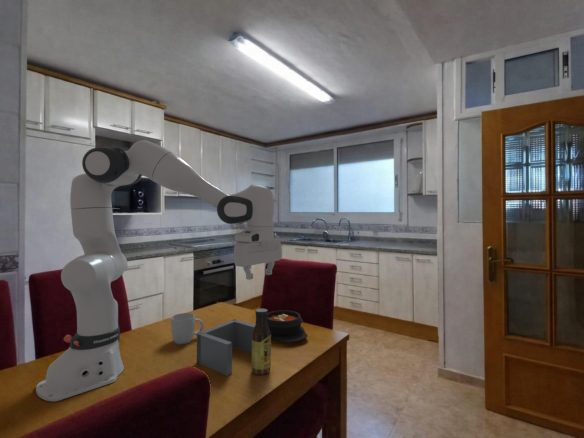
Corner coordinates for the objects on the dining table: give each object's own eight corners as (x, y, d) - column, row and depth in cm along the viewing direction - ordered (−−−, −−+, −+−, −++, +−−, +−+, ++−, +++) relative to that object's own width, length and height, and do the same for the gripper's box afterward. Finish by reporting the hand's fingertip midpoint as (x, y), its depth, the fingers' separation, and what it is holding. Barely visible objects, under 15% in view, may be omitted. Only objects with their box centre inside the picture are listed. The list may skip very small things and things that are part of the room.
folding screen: (227, 375, 98) (227, 344, 98) (196, 362, 107) (196, 333, 106) (263, 354, 113) (264, 327, 113) (234, 344, 121) (234, 319, 121)
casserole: (318, 340, 126) (318, 319, 126) (279, 351, 116) (279, 329, 116) (285, 322, 147) (285, 304, 147) (250, 330, 137) (250, 311, 137)
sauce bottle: (267, 376, 97) (267, 314, 97) (248, 374, 99) (248, 312, 98) (273, 366, 104) (273, 308, 104) (255, 364, 105) (255, 306, 105)
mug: (173, 347, 118) (173, 321, 118) (169, 339, 126) (169, 315, 126) (206, 340, 125) (206, 316, 125) (200, 333, 133) (200, 310, 132)
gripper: (272, 233, 112) (271, 271, 112) (230, 235, 95) (230, 280, 95) (286, 233, 108) (285, 273, 108) (245, 237, 91) (244, 283, 92)
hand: (259, 276), depth 102 cm, fingers open, 8 cm apart
